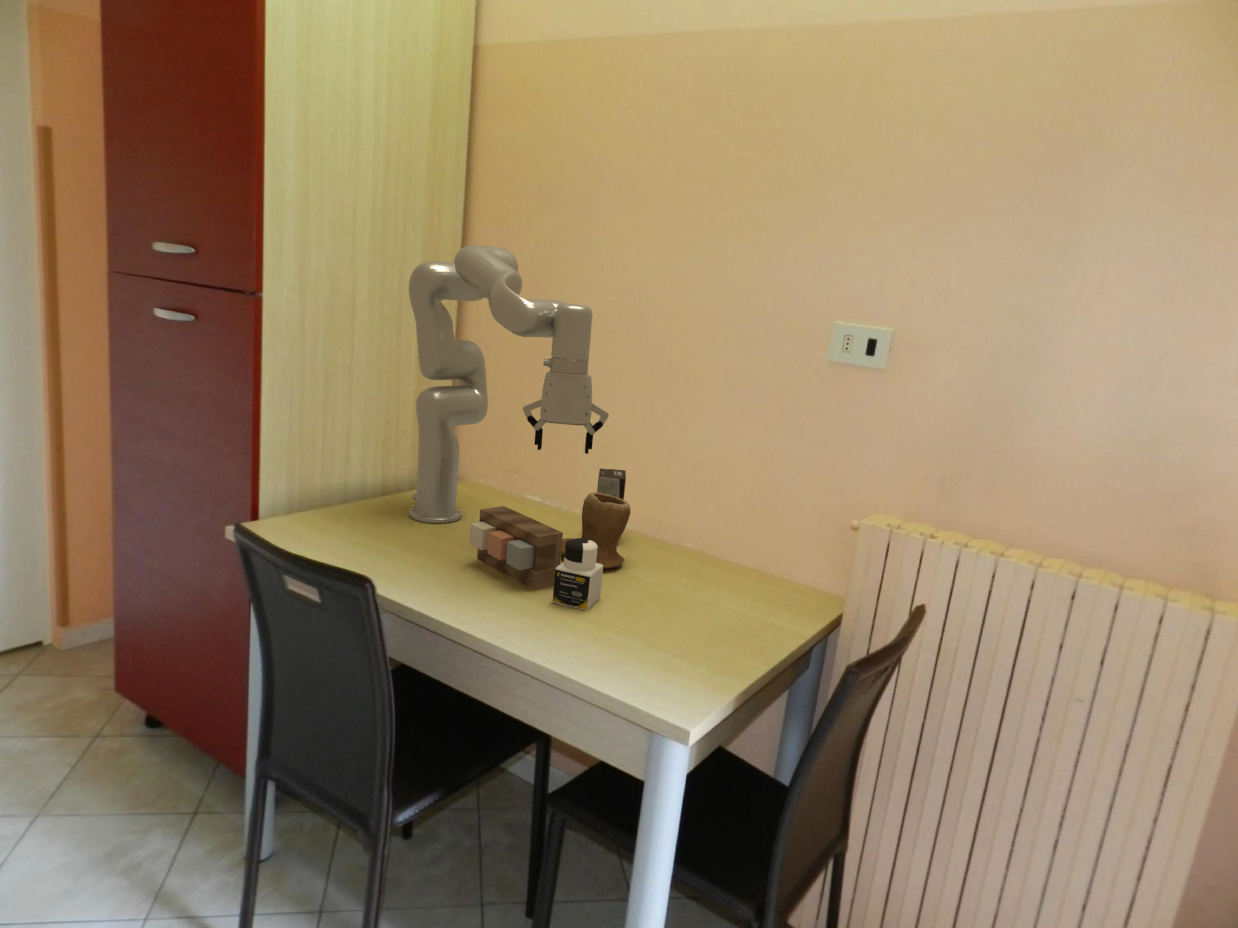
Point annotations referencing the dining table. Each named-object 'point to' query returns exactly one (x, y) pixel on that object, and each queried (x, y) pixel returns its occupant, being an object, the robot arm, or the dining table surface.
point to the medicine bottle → (578, 575)
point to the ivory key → (480, 534)
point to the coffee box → (612, 483)
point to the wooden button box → (532, 532)
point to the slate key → (520, 554)
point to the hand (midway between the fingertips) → (563, 450)
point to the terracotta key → (499, 543)
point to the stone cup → (604, 526)
